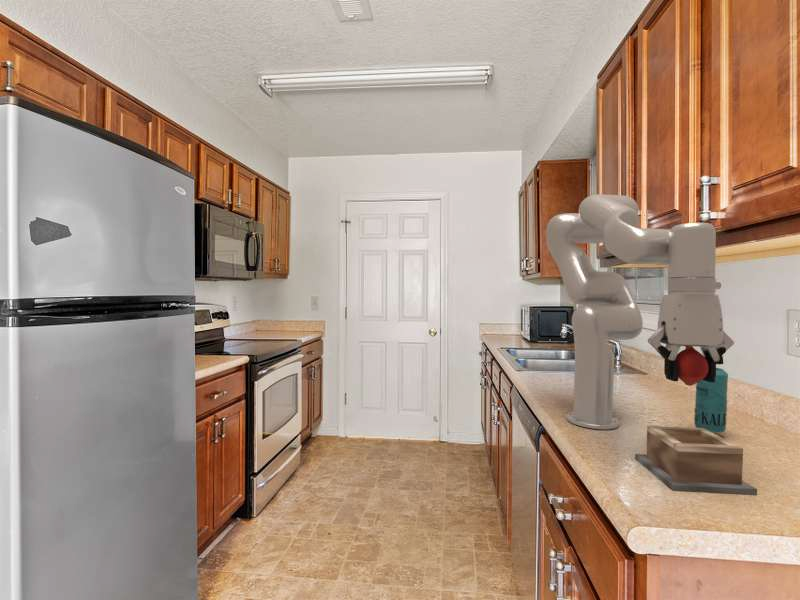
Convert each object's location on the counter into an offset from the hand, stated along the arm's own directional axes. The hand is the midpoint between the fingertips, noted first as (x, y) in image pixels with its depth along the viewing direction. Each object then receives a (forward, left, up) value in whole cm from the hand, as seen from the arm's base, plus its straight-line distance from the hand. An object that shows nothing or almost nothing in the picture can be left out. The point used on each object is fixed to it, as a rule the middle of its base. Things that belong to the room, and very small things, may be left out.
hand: (689, 379), depth 82 cm
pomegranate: (0, 0, -1) cm, 1 cm away
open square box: (+1, 0, -18) cm, 18 cm away
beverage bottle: (-24, +19, -18) cm, 36 cm away
